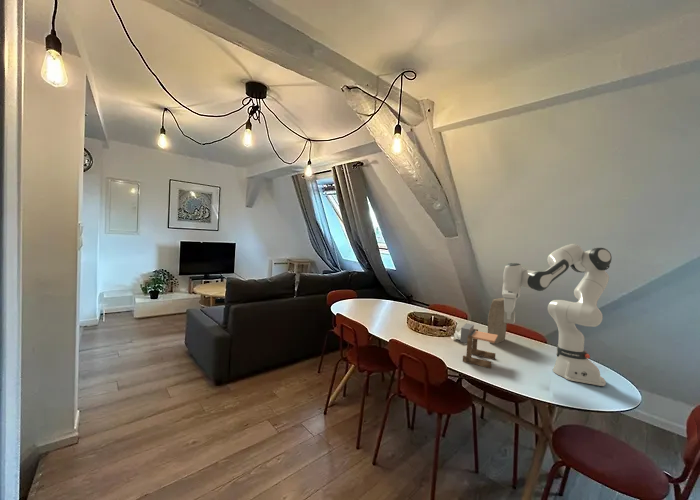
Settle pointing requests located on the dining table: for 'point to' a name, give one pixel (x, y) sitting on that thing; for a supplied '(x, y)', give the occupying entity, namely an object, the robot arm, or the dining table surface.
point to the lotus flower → (457, 335)
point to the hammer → (476, 334)
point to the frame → (477, 353)
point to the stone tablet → (497, 320)
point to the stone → (509, 319)
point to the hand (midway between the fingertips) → (509, 318)
